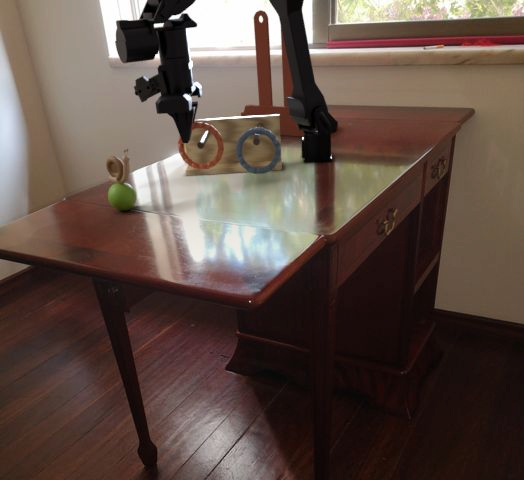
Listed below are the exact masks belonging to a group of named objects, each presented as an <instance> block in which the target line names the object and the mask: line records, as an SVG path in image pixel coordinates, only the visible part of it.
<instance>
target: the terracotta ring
mask: <svg viewBox="0 0 524 480" xmlns="http://www.w3.org/2000/svg"><path fill="white" fill-rule="evenodd" d="M201 128H202V129H205V130H208V131H209V132H211V133H212V134H213V135H214V137H215V139H216V140H217V144H218V151H217V154H216V156H215V158H214V159H213V160H212V161H210V162H208V163H205V164H199V163H196V162H193V161H192V160H191V159H190V158H189V157H188V156H187V154H186V152H185V149H184V143H183V142H182V139H181V137H180V135H179V136H178V141H177V149H178V153H179V155H180V157H181V159H182V161H184V163H185V164H187V166H188V165H189V166H190V167H193V168H196V169H198V170H205V169H210V168H212V167H214V166H216V165H217V163H218V162H219V161H220V160H221V158H222V155H223V151H224V145H223V139H222V137H221V135H220V133H219V132H218V131H217V130H216V129H215V128H214V127H213V126H212V125H210V124H207V123H204V122H194V123H192V128H191V131H192V130H194V129H201Z"/></svg>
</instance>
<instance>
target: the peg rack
mask: <svg viewBox="0 0 524 480" xmlns="http://www.w3.org/2000/svg"><path fill="white" fill-rule="evenodd" d="M194 122H204V123H207V124H210V125H212V126H213V127H214V128H215V129H216V130H217V131H218V132H219V133H220V135H221V137H222V139H223V145H224V151H223V155H222V158H221V160H220V161H219V162H218V163H217V165H216V166H214V167H212V168H210V169H205V170H198V169H196V168H193V167H190V166H189V165H188V164H187V167H186V169H185V175H186V176H202V175H203V176H204V175H221V174H238V173H250V172H249V171H247V170H246V169H245V168H244V167H242V166H241V164H240V162H239V160H238V158H237V153H236V146H237V143H238V140H239V138H240V137H241V136H242V134H243V133H244V132H246V131H248V130H250V129H251V128H264V129H267V130H270V131H271V132H272V133H273V134H274V135H275V136H276V137H277V139H278V141H279V143H280V148H281V149H282V139H281V138H282V137H281V136H282V135H280V115H279V114H273V115H257V116H242V117H241V116H227V117H213V118H197V119H196V118H195V121H194ZM185 146H186V153H187V156H188V157H189V158H190V159H191V160H192V161H193V162H196V163H199V164H205V163H208V162H210V161H212V160H213V159H214V158H215V156H216V154H217V151H218V144H217V140H216V139H215V137H214V135H213V134H212V133H211V132H209V131H208V130H205V129H202V128H201V129H194V130H192V133H191V137H190V141H189V142H188V143H185ZM274 155H275V146H274V144H273V142H272V140H271V139H270V138H268V137H267V136H265V135H263V134H253V135H251V136H249V137H248V138H247V139H246V140H245V141H244V143H243V146H242V156H243V158H244V160H245V162H247V163H248V164H249V165H250V166H252V167H255V168H263V167H265V166H267V165H269V164H270V163H271V162H272V160H273V158H274ZM282 166H283V159H282V154H281V155H280V158H279V161H278V163H277V164H276V166H275V167H274V168H273V169H272V170H270V171H269V172H271V171H272V172H273V171H282V170H283V169H282V168H283V167H282Z"/></svg>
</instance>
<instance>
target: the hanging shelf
mask: <svg viewBox="0 0 524 480" xmlns="http://www.w3.org/2000/svg"><path fill="white" fill-rule="evenodd" d="M260 17H262V21H260ZM269 25H270V24H269V16H268V14H267V12H266V11H265V10H257V11H255V14H254V15H253V31H254V40H255V41H254V43H255V44H254V47H255V59H256V60H255V61H256V77H257V89H258V90H257V91H258V104H246V105H245V106H244V110H242V111H240V117H242V116H257V115H273V114H279V115H280V136H290V137H291V136H292V137H293V136H294V137H304V131H302V130H299V129H298V126H297V123H296V122H295V121H294V120H293V118H292V116H289V106H288V104H287V100H286V98H287V97H291V96H292V92H293V82H292V77H291V73H290V68H289V63H288V58H287V53H286V48H285V44H284V39H283V34H282V29H281V28H280V44H281V45H280V46H281V60H282V61H281V66H282V69H281V70H282V93H283V105H273V104H274V102H273V85H272V84H273V83H272V65H271V64H272V63H271V62H272V61H271V45H270V26H269Z"/></svg>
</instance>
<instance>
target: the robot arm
mask: <svg viewBox="0 0 524 480" xmlns="http://www.w3.org/2000/svg"><path fill="white" fill-rule="evenodd" d="M196 1H197V0H146V2H145V5H144V7H143V9H142V11H141V14H140V16H139V18H138V19H133V20H131V19H130V20H129V19H119V20H116V21H115V24H116V30H115V42H114V43H115V48H116V49H115V50H116V53H117V55H118V58H119V60H120V62H121V63H122V64H131V63H137V62H138V63H139V62H147V61H153V60H155V58H156V55H158V54H159V61H160V62H159V63H160V64H159V65H158V66H157V74H155V75H154V74H153V76H151V77H148V78H147V76H146V75H142V76H140V77H138V78H136V79H135V80H134V81H135V85H134V86H133V89H134V95H135V96H138V98H139V100H140V102H141V103H144V102H146V101H148V99H149V98H152V97H154V96H156V95H158V94H160V96H159V97H158V98H157V100H156V101H155V103H154V104H155V109H156V114H157V115H162V114H167V115H168V116H170V117H171V118H172V119H173V121H174V124H175V126H176V129H177V131H178V134H179V136H180V137H181V139H182V142H183V143H188V142H189V141H190V137H191V133H192V131H191V128H192V123H194V121H195V119H196V116H197V112H198V108H199V105H200V101H193V99H192V97H197V98H200V99H201V98H202V97H203V87H202V85H201V84H200V83H199V82H198V81H194V78H193V71H192V69H193V67H194V64H193V63H194V62H193V60H191V53H190V46H189V38H188V37H189V36H188V30H187V29H193V28H197V27H198V23H197V21H195V20H193V18H191V16H190V15H189V14H188V13H187V12H185V11H186V10H187V9H188V8H190V7H191V6H192V5H193V4H195V2H196ZM304 1H305V0H268V2H269V3H270V5H271V6H272V7H273V9H274V11H275V13H276V14H277V16H278V20H279V24H280V30H281V29H282V34H283V39H284V44H285V48H286V53H287V58H288V63H289V68H290V73H291V77H292V82H293V92H292V96H291V97H287V98H286V100H287V104H288V106H289V116H292V118H293V120H294V121H295V122H296V123H297V126H298V129H299V130H302V131H304V137H303V136H301V138H300V140H301V141H300V143H301V146H300V147H301V158H302V159H303V162H304V163H313V162H314V163H316V162H317V163H318V162H332V160H333V157H332V134H334V133H337V130H338V126H339V122H338V120H336V119H335V118H334V117H333V115H332V114H331V113H330V112H329V107H328V104H327V101H326V99H325V95H324V94H323V93H322V91H321V89H320V88H319V86H318V84H317V82H316V80H315V74H314V69H313V68H314V67H313V63H312V58H311V52H310V47H309V41H308V36H307V35H308V34H307V30H306V25H305V24H306V23H305V19H304V14H303V6H304ZM178 15H180V16H179V17H178V18H172V17H173V16H178ZM157 24H158V25H159V24H162V26H156V27H155V25H157Z"/></svg>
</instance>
